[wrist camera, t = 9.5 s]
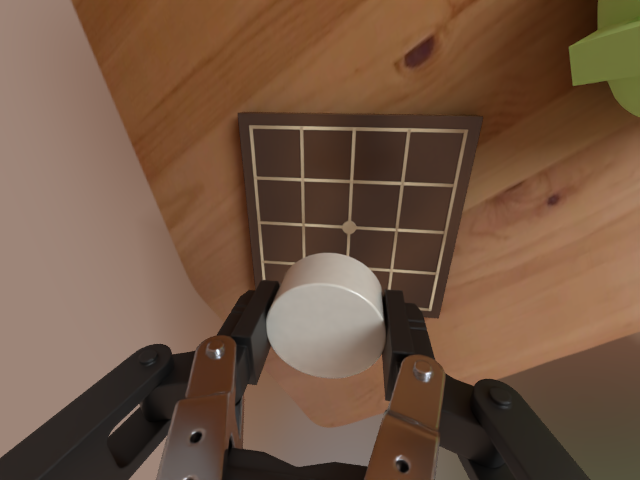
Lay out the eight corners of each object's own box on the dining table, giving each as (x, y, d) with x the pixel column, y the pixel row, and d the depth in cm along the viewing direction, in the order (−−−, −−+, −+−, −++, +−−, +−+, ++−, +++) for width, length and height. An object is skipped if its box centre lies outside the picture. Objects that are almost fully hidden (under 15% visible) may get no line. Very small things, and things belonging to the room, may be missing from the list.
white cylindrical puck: (283, 332, 15) (269, 372, 13) (277, 248, 13) (260, 279, 11) (378, 341, 14) (381, 385, 12) (388, 255, 12) (393, 289, 10)
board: (260, 296, 32) (256, 304, 31) (242, 112, 24) (236, 112, 23) (436, 310, 30) (439, 319, 29) (477, 115, 23) (484, 116, 21)
